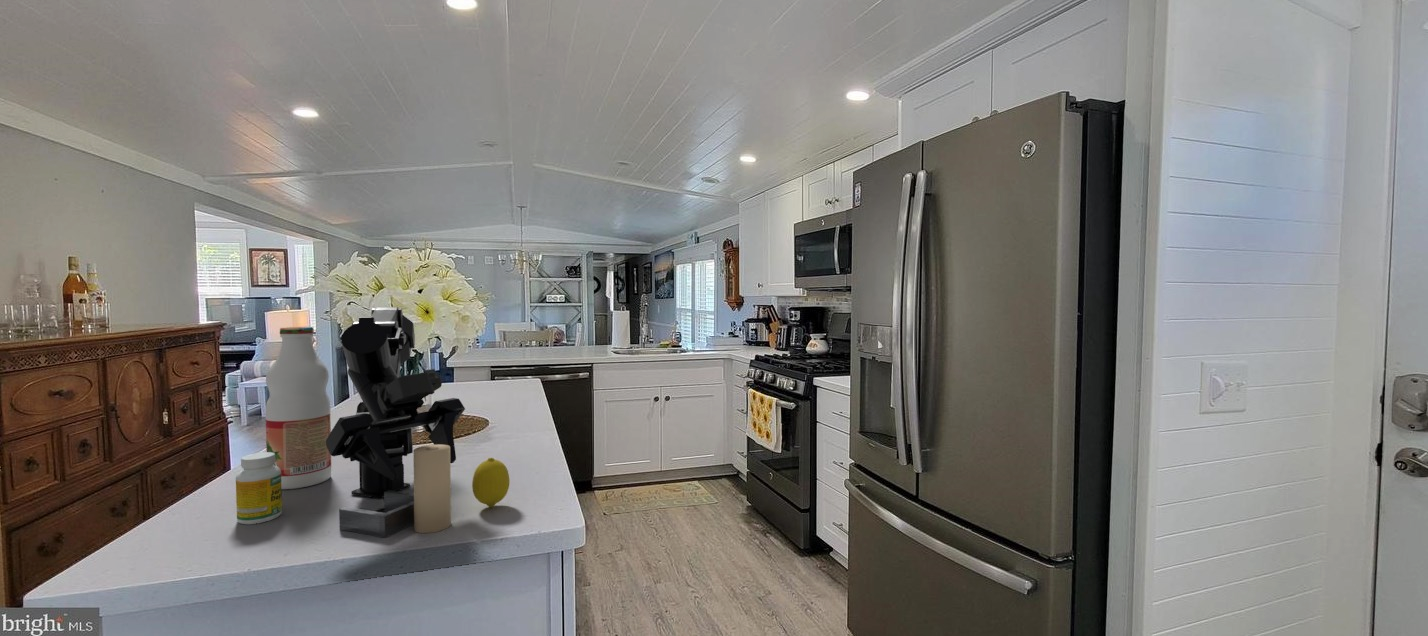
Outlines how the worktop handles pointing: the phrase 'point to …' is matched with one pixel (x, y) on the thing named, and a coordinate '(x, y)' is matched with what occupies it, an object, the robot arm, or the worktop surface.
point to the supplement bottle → (258, 489)
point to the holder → (380, 516)
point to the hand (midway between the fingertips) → (425, 469)
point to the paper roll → (432, 488)
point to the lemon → (490, 482)
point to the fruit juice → (298, 411)
